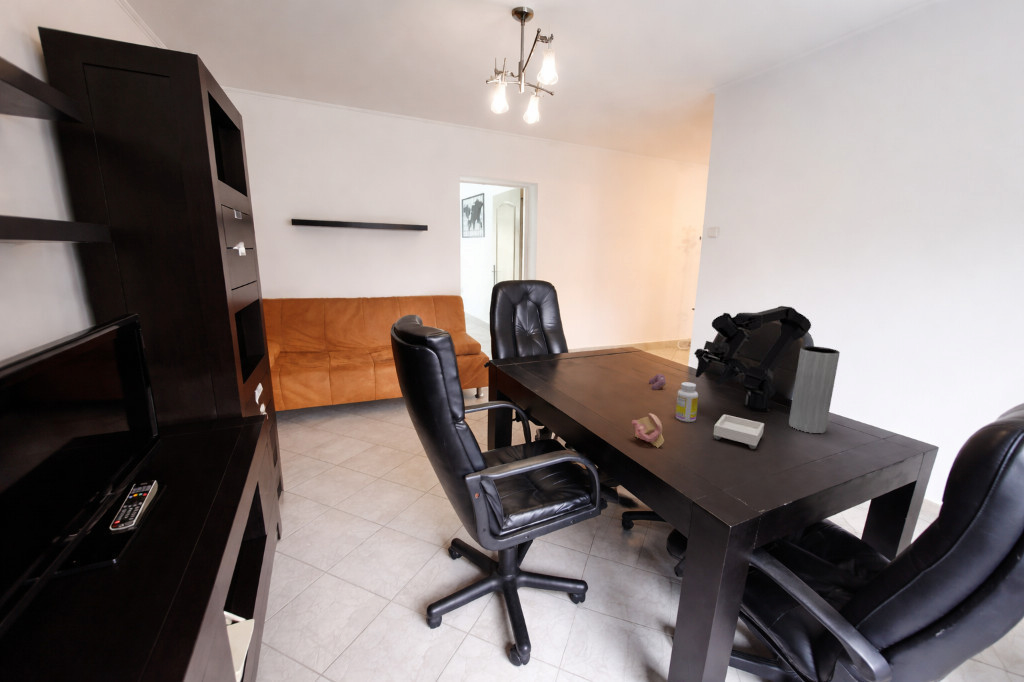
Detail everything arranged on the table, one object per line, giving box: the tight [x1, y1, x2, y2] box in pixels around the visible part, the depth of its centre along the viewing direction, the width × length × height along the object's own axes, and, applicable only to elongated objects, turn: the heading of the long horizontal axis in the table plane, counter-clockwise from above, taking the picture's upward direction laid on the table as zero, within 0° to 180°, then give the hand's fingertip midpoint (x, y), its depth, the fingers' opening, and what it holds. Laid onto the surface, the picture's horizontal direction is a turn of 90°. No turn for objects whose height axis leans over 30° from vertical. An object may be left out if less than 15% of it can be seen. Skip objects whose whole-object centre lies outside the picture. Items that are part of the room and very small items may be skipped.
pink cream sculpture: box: [631, 413, 665, 449], centre depth 122 cm, size 9×10×10 cm
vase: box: [788, 345, 841, 434], centre depth 130 cm, size 10×10×27 cm
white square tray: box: [713, 413, 765, 450], centre depth 124 cm, size 12×12×5 cm
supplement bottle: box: [675, 381, 699, 423], centre depth 139 cm, size 7×7×13 cm
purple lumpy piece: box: [648, 373, 667, 391], centre depth 173 cm, size 10×5×7 cm, turn 168°
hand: (706, 380), depth 139 cm, fingers open, 9 cm apart
